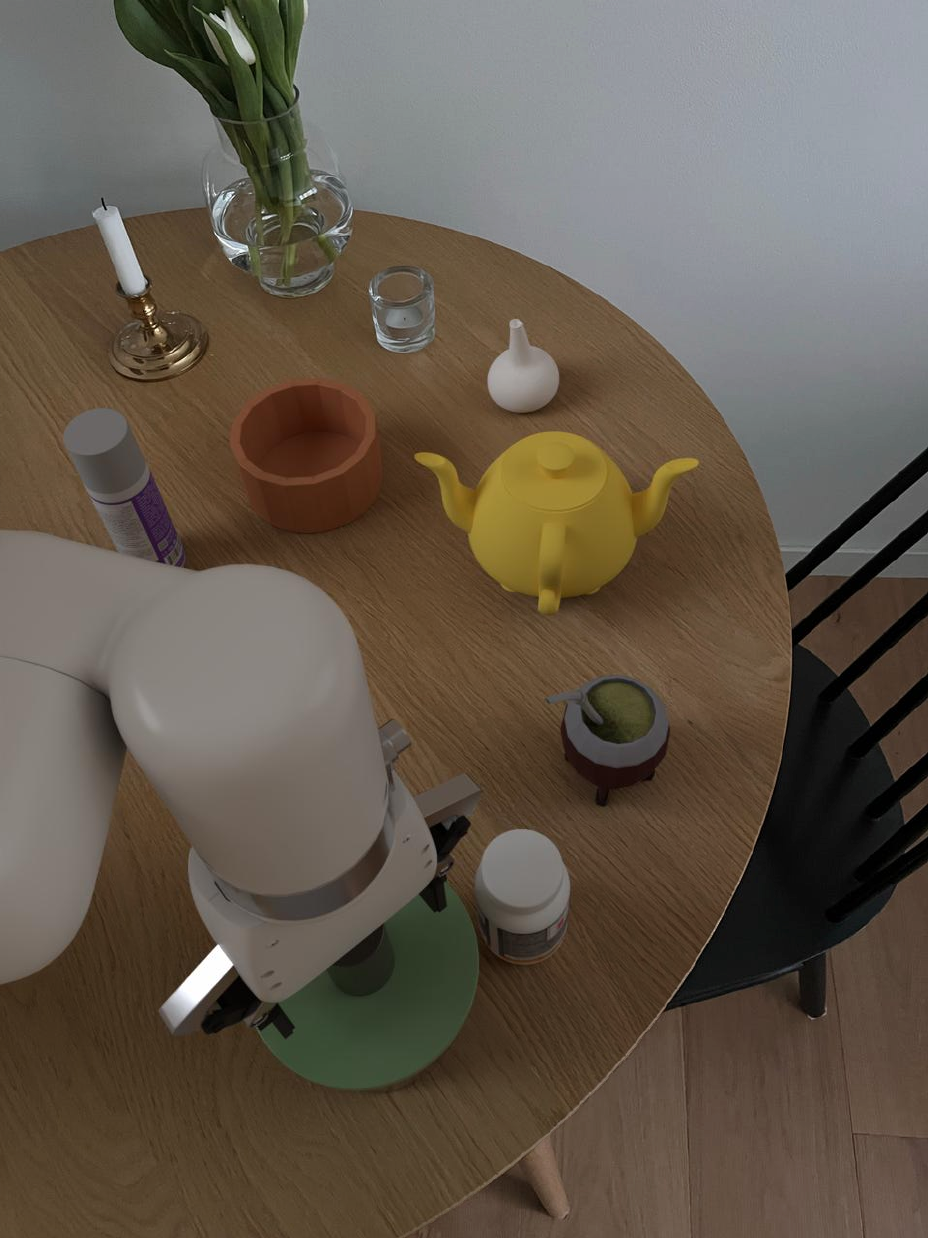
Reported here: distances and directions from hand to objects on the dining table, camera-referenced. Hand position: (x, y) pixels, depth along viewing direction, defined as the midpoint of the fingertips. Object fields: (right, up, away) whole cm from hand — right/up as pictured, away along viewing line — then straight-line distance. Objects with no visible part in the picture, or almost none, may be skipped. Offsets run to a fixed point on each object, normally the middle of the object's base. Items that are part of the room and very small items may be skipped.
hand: (351, 948), depth 55 cm
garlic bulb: (+11, +37, +39) cm, 55 cm away
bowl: (-7, +29, +35) cm, 46 cm away
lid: (0, -2, +2) cm, 3 cm away
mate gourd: (+16, +6, +19) cm, 25 cm away
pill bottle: (+10, -2, +13) cm, 17 cm away
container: (-19, +22, +31) cm, 42 cm away
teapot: (+13, +21, +29) cm, 38 cm away
